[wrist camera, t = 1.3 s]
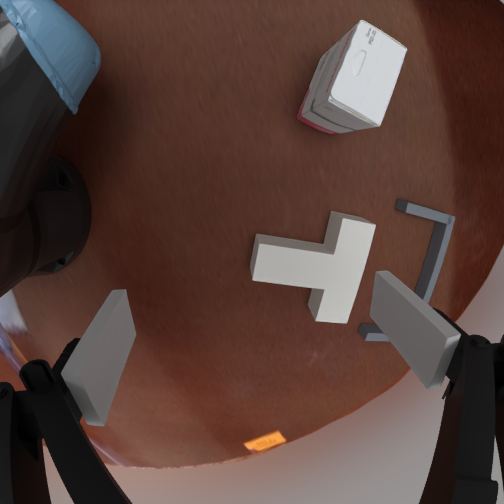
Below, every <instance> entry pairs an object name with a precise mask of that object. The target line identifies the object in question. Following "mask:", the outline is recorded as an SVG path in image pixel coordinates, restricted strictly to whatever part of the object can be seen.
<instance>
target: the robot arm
mask: <svg viewBox="0 0 504 504" xmlns="http://www.w3.org/2000/svg"><path fill="white" fill-rule="evenodd" d="M100 64H101V53H100V50H99V47H98V45H97V44H96V42H95V41H94V39H93V38H92V37H91V36H90V34H89V33H88V32H87V31H86V30H85V29H84V28H83V27H82V26H81V25H80V24H79V23H78V22H77V21H76V20H75V19H74V18H73V17H72V16H71V15H70V14H69V13H67V12H66V11H65V10H64V9H63V8H62V7H60V6H59V5H58V4H57V3H56V2H54V1H53V0H0V297H2V296H3V295H4V294H5V293H7V292H8V291H9V290H10V289H12V288H13V287H14V286H15V285H17V284H18V283H19V282H20V281H22V280H23V279H24V278H26V277H33V276H40V275H48V274H52V273H55V272H57V271H59V270H61V269H63V268H64V267H66V266H67V265H68V264H69V263H71V262H72V261H73V260H74V259H75V258H76V257H77V256H78V255H79V254H80V252H81V251H82V249H83V247H84V245H85V243H86V240H87V237H88V234H89V229H90V221H91V210H90V202H89V197H88V193H87V190H86V187H85V184H84V182H83V180H82V178H81V176H80V175H79V173H78V172H77V170H76V169H75V168H74V167H73V165H72V164H71V163H69V162H68V161H67V160H66V159H64V158H63V157H61V156H59V155H57V154H54V153H52V151H53V149H54V147H55V145H56V143H57V142H58V140H59V138H60V136H61V134H62V133H63V131H64V129H65V127H66V126H67V124H68V122H69V121H70V119H71V117H72V116H73V114H74V115H75V114H76V113H77V111H78V105H79V103H80V101H81V99H82V98H83V96H84V94H85V92H86V91H87V89H88V87H89V86H90V84H91V83H92V81H93V79H94V78H95V76H96V75H97V73H98V71H99V68H100ZM369 316H370V317H371V318H372V319H373V321H374V322H375V323H376V324H377V325H378V327H379V328H380V329H381V330H382V332H383V333H384V334H385V335H386V337H387V338H388V339H389V340H390V342H391V343H392V344H393V345H394V347H395V348H396V349H397V351H398V352H399V353H400V354H401V356H402V357H403V358H404V359H405V361H406V362H407V363H408V365H409V366H410V367H411V368H412V370H413V371H414V372H415V374H416V375H417V376H418V378H419V379H420V380H421V382H422V383H423V384H424V385H425V387H426V388H427V389H428V390H431V389H433V388H436V387H439V386H441V385H442V383H443V380H444V378H445V376H447V377H448V378H449V379H450V381H449V384H448V386H447V388H446V390H445V392H444V395H443V397H442V399H444V398H445V396H446V399H445V405H444V411H443V416H442V421H441V426H440V431H439V436H438V440H437V444H436V448H435V452H434V456H433V460H432V464H431V468H430V471H429V474H428V478H427V481H426V484H425V487H424V490H423V493H422V496H421V499H420V502H419V504H496V500H497V495H498V483H497V481H493V480H491V472H492V464H493V453H494V439H495V437H496V442H497V447H498V453H499V458H500V465H501V472H502V480H503V490H504V335H503V336H502V339H501V341H500V343H494V344H491V343H490V341H489V340H487V339H486V338H485V337H483V336H480V335H470V336H469V335H468V334H467V333H465V332H464V331H463V330H462V329H461V328H460V327H459V326H458V325H457V324H455V323H453V321H452V320H451V319H450V318H448V316H446V315H445V314H444V313H443V312H442V311H440V310H438V309H436V308H431V307H430V306H429V305H428V304H427V303H426V302H425V301H423V300H422V299H421V298H420V297H419V296H418V295H416V294H415V293H414V292H413V291H412V290H410V289H409V288H408V287H407V286H406V285H405V284H403V283H402V282H401V281H400V280H399V279H397V278H396V277H395V276H394V275H393V274H391V273H390V272H389V271H388V270H387V271H377V272H376V274H375V281H374V289H373V296H372V302H371V309H370V315H369ZM135 337H136V331H135V327H134V323H133V319H132V315H131V310H130V306H129V302H128V297H127V292H126V289H123V290H112V291H111V293H110V294H109V296H108V297H107V299H106V300H105V302H104V303H103V305H102V306H101V308H100V309H99V311H98V312H97V314H96V316H95V317H94V319H93V320H92V322H91V323H90V325H89V327H88V328H87V330H86V331H85V333H84V335H83V336H82V338H75V339H73V340H72V341H71V342H70V343H68V344H67V346H66V347H65V349H64V350H63V353H61V355H60V357H59V359H58V360H57V361H56V363H55V365H54V366H53V368H52V370H51V368H50V366H49V364H48V362H47V361H45V360H42V359H36V360H32V361H30V362H28V363H26V364H25V365H24V366H23V367H22V368H21V370H20V372H19V376H20V378H21V380H22V382H23V384H24V386H25V388H26V389H27V390H24V391H15V390H14V388H13V386H12V385H11V384H10V383H8V382H0V504H51V500H50V495H49V489H48V484H47V477H46V471H45V463H44V455H43V445H42V438H44V440H45V443H46V445H47V448H48V450H49V453H50V455H51V457H52V460H53V462H54V464H55V466H56V468H57V471H58V473H59V475H60V477H61V479H62V481H63V483H64V485H65V487H66V489H67V491H68V493H69V495H70V497H71V498H72V500H73V502H74V504H132V502H131V501H130V500H129V499H128V497H127V496H126V495H125V493H124V492H123V491H122V489H121V488H120V486H119V485H118V484H117V482H116V481H115V480H114V478H113V477H112V475H111V473H110V472H109V471H108V469H107V468H106V466H105V464H104V463H103V461H102V460H101V458H100V457H99V455H98V453H97V452H96V450H95V449H94V447H93V445H92V444H91V442H90V440H89V438H88V437H87V435H86V433H85V431H84V430H83V428H82V426H81V424H80V423H79V422H80V419H81V417H82V416H83V417H84V419H85V421H86V423H87V424H88V425H96V426H105V423H106V419H107V416H108V413H109V410H110V407H111V404H112V401H113V398H114V395H115V392H116V389H117V386H118V383H119V381H120V378H121V375H122V372H123V369H124V366H125V364H126V361H127V358H128V356H129V353H130V350H131V348H132V345H133V342H134V340H135Z"/></svg>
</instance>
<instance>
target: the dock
mask: <svg viewBox="0 0 504 504" xmlns="http://www.w3.org/2000/svg"><path fill="white" fill-rule="evenodd" d="M395 209H398V210H401V211H403V212H406V213H409V214H413V215H417V216H421V217H424V218H428V219H431V220H435V221H436V223H435V226H434V230H433V234H432V238H431V241H430V245H429V248H428V252H427V255H426V258H425V261H424V265H423V268H422V271H421V274H420V277H419V280H418V283H417V286H416V289H415V292H414V293H415V294H416V295H418V296H419V297H420V298H421V299H422V300H423V301H425V302H426V303H427V304H428V303H429V300H430V297H431V295H432V292H433V289H434V287H435V284H436V281H437V278H438V275H439V272H440V269H441V266H442V263H443V259H444V256H445V253H446V250H447V246H448V243H449V239H450V236H451V232H452V228H453V224H454V220H455V217H454V216H451V215H449V214H446V213H443V212H440V211H436V210H433V209H430V208H427V207H423V206H420V205H416V204H413V203H410V202H406V201H403V200H399V199H398V200H397V204H396V208H395ZM358 331H359V333H360V334H361V336H362V337H363V338H364V340H365V341H390V340H389V339H388V338H387V337H386V335H385V334H384V333H383V332H382V330H381V329H380V328H379V327H378V325H377V324H362V323H361V325H360V328H359V330H358Z"/></svg>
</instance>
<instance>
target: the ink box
mask: <svg viewBox="0 0 504 504" xmlns="http://www.w3.org/2000/svg"><path fill="white" fill-rule="evenodd" d="M406 51H407V48H406V47H405V46H403V45H402V44H401V43H399V42H398V41H396V40H395V39H393V38H392V37H390V36H389V35H387V34H386V33H384V32H382V31H381V30H379V29H377V28H376V27H374V26H372V25H371V24H369V23H367V22H366V21H364V20H361V21H359V22H358V23H357V24H356V25H355V26H354V27H353V28H352V29H351V30H350V31H349V32H348V33H347V34H346V35H344V36H343V37H342V38H341V39H340V40H339V41H338V42H337V43H336V44H335V45H334V46H333V47H332V48H330V49H329V50H328V51H327V52H326V53H325V54H324V55H323V56H322V57H321V59H320V61H319V63H318V66H317V68H316V70H315V73H314V75H313V78H312V80H311V83H310V85H309V88H308V90H307V92H306V95H305V97H304V100H303V102H302V104H301V107H300V109H299V112H298V114H297V120H299V121H301V122H303V123H305V124H307V125H309V126H311V127H313V128H315V129H317V130H319V131H322V132H325V133H328V134H331V135H334V134H340V133H345V132H350V131H355V130H361V129H366V128H372V127H378V126H380V125H381V122H382V120H383V117H384V115H385V112H386V109H387V106H388V104H389V101H390V98H391V95H392V93H393V90H394V87H395V84H396V81H397V78H398V75H399V72H400V69H401V66H402V63H403V60H404V57H405V54H406Z"/></svg>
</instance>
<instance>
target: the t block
mask: <svg viewBox="0 0 504 504" xmlns="http://www.w3.org/2000/svg"><path fill="white" fill-rule="evenodd" d="M375 227H376V225H375V224H373V223H371V222H369V221H368V220H366V219H364V218H362V217H358V216H353V215H348V214H344V213H339V212H334V211H331V213H330V217H329V222H328V226H327V230H326V235H325V239H324V243H323V244H320V243H313V242H307V241H301V240H295V239H289V238H282V237H276V236H270V235H263V234H257V233H256V236H255V242H254V247H253V252H252V258H251V263H250V270H251V276H252V280H254V281H261V282H269V283H276V284H284V285H292V286H300V287H308V288H312V290H311V294H310V298H309V301H308V307H309V309H310V311H311V313H312V315H313V317H314V319H315V321H321V322H334V323H347V321H348V318H349V315H350V312H351V309H352V306H353V303H354V300H355V297H356V294H357V290H358V287H359V284H360V281H361V277H362V274H363V271H364V267H365V264H366V260H367V257H368V253H369V250H370V246H371V242H372V238H373V235H374V231H375Z"/></svg>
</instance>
